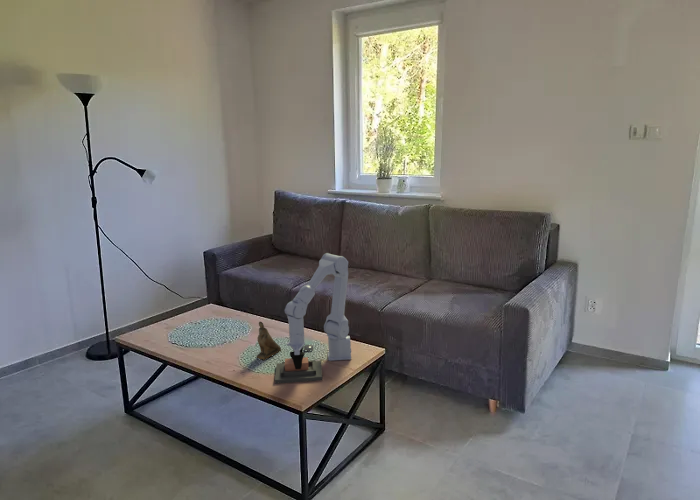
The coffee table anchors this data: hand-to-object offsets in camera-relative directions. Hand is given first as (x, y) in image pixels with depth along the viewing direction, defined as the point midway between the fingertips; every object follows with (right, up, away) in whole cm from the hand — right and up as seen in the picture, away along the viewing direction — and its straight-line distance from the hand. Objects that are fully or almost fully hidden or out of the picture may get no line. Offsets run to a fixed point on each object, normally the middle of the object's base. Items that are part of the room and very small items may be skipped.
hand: (298, 364), depth 195 cm
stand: (0, -4, +1) cm, 4 cm away
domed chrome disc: (+2, +1, +23) cm, 23 cm away
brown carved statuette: (-15, 0, +19) cm, 24 cm away
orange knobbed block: (-1, -2, 0) cm, 2 cm away
